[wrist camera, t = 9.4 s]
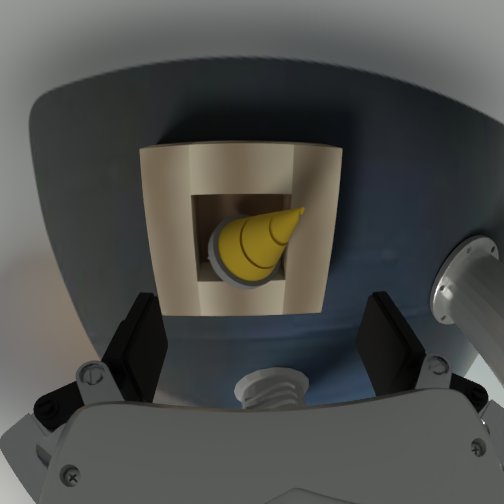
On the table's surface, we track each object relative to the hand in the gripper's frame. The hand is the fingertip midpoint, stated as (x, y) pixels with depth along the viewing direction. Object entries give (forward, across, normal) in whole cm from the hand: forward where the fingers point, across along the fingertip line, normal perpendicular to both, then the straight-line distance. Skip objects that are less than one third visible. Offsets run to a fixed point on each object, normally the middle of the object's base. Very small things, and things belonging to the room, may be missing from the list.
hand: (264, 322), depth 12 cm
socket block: (+12, +1, 0) cm, 12 cm away
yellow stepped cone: (+11, +1, 0) cm, 11 cm away
